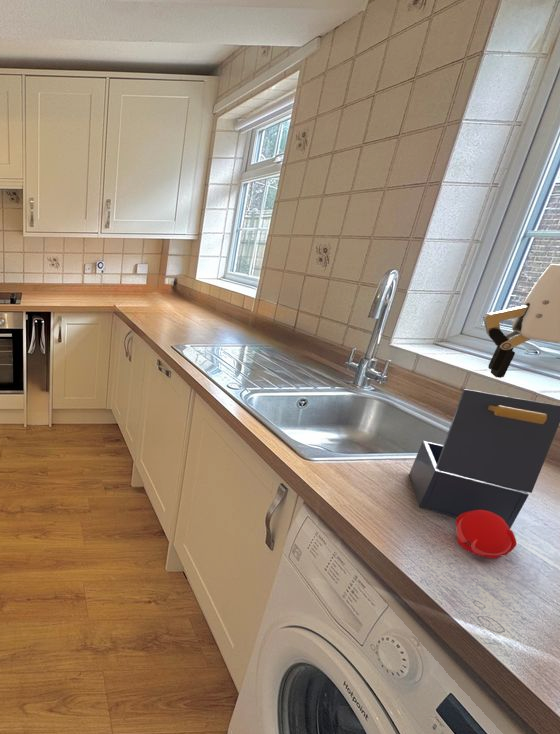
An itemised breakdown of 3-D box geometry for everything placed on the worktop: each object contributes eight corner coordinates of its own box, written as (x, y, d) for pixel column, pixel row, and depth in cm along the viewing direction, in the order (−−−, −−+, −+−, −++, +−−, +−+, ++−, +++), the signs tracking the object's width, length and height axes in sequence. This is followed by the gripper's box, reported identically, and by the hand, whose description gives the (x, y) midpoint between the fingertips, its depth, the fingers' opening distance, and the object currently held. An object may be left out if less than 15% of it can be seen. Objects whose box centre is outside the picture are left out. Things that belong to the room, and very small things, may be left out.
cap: (512, 573, 60) (531, 540, 57) (457, 555, 63) (473, 523, 60) (496, 541, 66) (512, 510, 64) (447, 526, 69) (461, 496, 67)
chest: (409, 473, 84) (422, 440, 81) (485, 493, 78) (503, 458, 75) (419, 507, 73) (435, 470, 71) (508, 533, 68) (529, 494, 65)
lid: (463, 388, 68) (475, 392, 63) (563, 406, 62) (585, 411, 58) (435, 467, 71) (444, 476, 66) (529, 491, 65) (547, 503, 60)
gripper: (703, 260, 50) (624, 391, 56) (505, 250, 58) (455, 363, 65) (752, 263, 44) (657, 408, 50) (523, 251, 53) (467, 376, 59)
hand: (543, 383), depth 57 cm, fingers open, 9 cm apart
